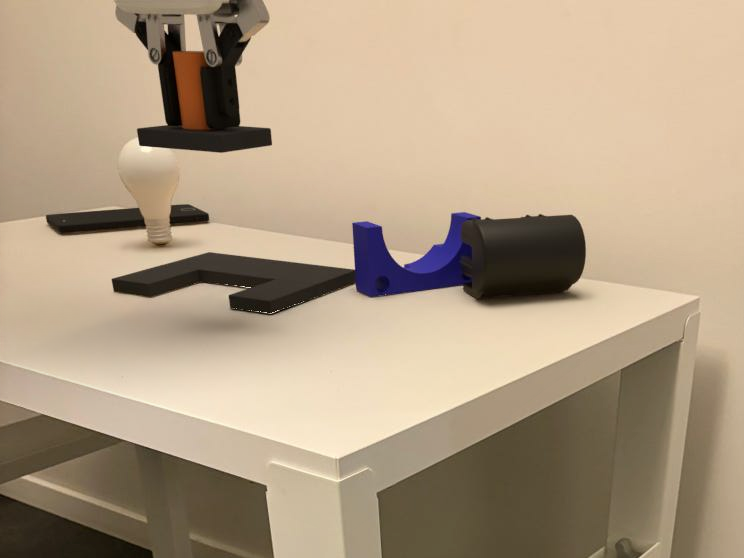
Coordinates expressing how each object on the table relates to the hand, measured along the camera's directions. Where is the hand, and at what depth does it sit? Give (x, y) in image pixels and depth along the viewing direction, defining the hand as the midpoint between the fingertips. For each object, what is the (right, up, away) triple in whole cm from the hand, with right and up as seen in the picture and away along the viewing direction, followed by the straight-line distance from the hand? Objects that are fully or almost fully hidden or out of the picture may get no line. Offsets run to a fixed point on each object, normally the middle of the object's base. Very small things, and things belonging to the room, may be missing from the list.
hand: (203, 123), depth 74 cm
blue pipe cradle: (+15, -5, +21) cm, 26 cm away
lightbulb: (-15, +5, +36) cm, 39 cm away
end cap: (+25, -7, +18) cm, 31 cm away
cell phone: (-23, +12, +47) cm, 54 cm away
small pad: (0, -1, +1) cm, 2 cm away
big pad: (-2, -5, +19) cm, 20 cm away
